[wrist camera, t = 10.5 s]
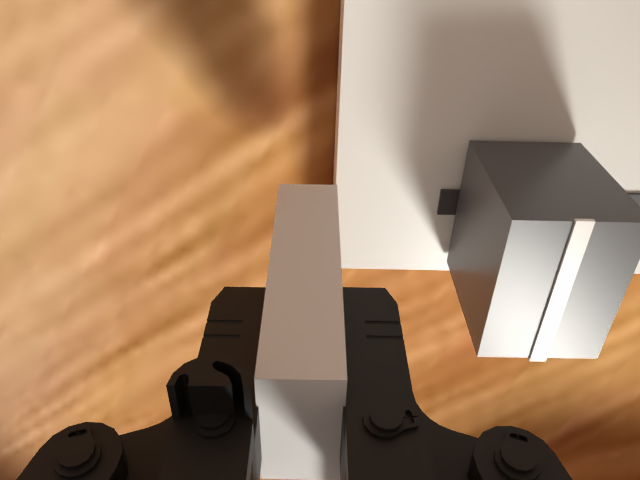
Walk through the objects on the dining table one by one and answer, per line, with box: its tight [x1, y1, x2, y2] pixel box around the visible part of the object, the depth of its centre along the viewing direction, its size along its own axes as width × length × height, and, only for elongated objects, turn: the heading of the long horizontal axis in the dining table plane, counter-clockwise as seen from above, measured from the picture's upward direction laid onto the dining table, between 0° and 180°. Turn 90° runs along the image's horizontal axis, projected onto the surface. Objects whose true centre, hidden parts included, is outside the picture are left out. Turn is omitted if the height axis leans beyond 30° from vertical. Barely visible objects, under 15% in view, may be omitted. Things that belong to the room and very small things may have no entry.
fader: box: [447, 140, 640, 361], centre depth 14 cm, size 3×4×4 cm
